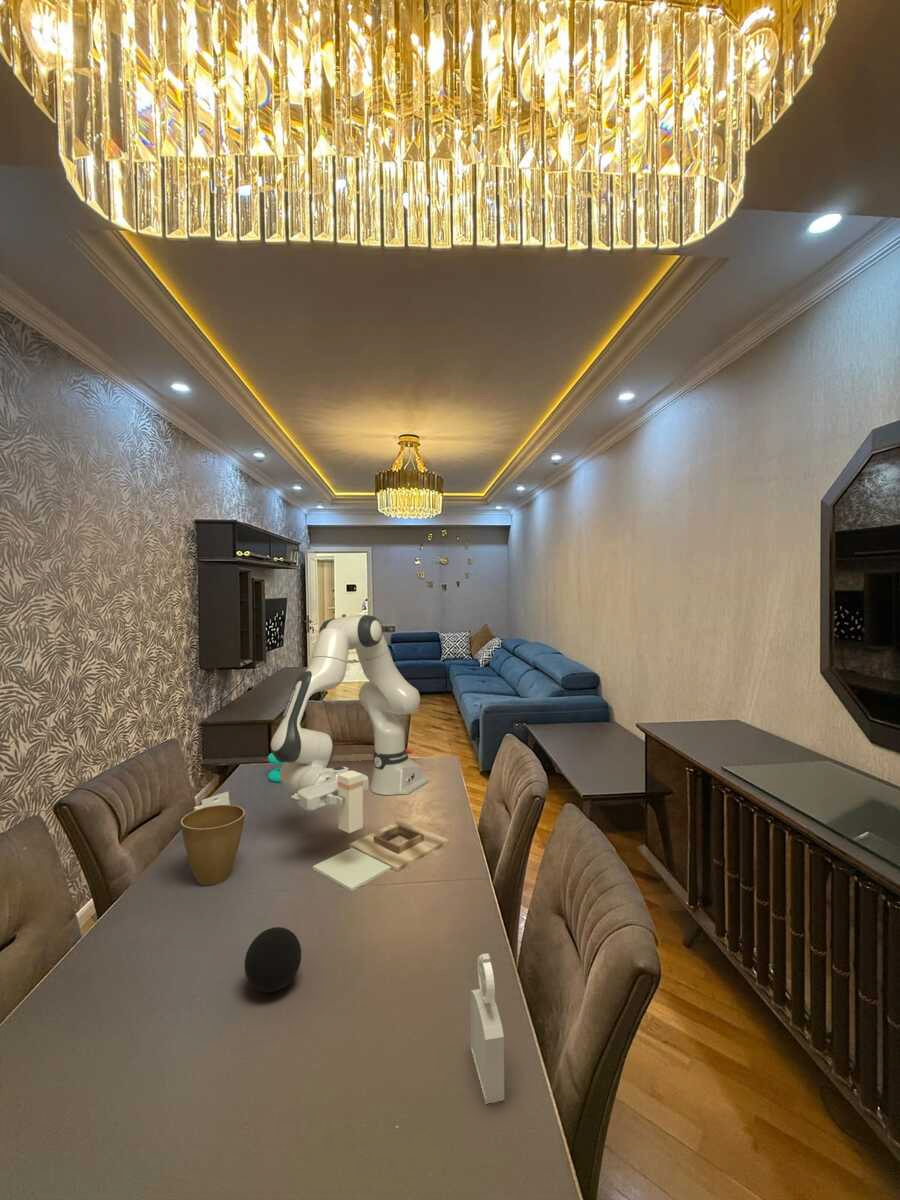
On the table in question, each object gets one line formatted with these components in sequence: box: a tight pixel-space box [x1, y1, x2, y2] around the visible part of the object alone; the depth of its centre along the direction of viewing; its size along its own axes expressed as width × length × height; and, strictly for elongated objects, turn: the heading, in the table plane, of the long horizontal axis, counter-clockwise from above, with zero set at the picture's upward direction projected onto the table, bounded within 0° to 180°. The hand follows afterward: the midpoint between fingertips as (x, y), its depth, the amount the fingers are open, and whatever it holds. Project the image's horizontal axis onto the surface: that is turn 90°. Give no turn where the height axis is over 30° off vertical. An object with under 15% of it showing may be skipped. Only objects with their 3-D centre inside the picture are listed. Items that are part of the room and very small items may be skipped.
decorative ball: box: [244, 926, 302, 993], centre depth 98 cm, size 10×10×10 cm
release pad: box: [312, 848, 392, 892], centre depth 139 cm, size 13×16×1 cm
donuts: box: [267, 752, 285, 783], centre depth 206 cm, size 10×10×10 cm
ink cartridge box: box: [193, 791, 231, 811], centre depth 153 cm, size 9×5×15 cm, turn 143°
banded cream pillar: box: [337, 770, 364, 834], centre depth 138 cm, size 5×5×14 cm
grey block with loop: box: [469, 953, 505, 1105], centre depth 80 cm, size 3×9×18 cm, turn 11°
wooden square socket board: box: [348, 819, 449, 872], centre depth 151 cm, size 20×20×3 cm
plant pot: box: [180, 804, 246, 886], centre depth 135 cm, size 15×15×16 cm
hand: (352, 798), depth 137 cm, fingers closed on banded cream pillar, 4 cm apart
